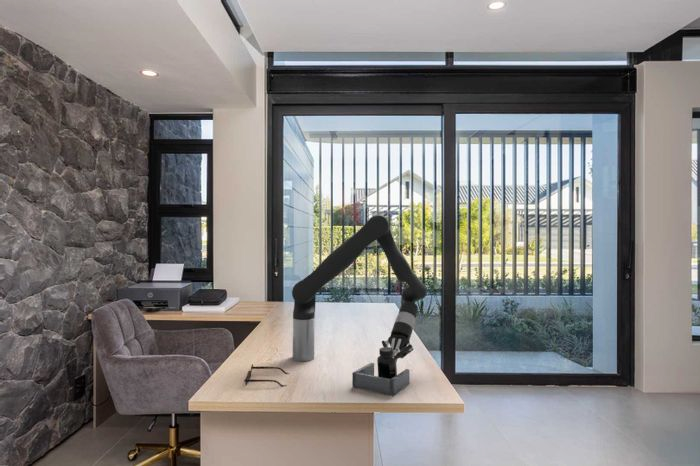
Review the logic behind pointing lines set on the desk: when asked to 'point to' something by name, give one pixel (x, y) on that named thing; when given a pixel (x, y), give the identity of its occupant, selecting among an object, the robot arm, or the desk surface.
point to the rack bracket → (379, 381)
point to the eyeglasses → (262, 380)
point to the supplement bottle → (386, 363)
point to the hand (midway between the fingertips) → (390, 366)
